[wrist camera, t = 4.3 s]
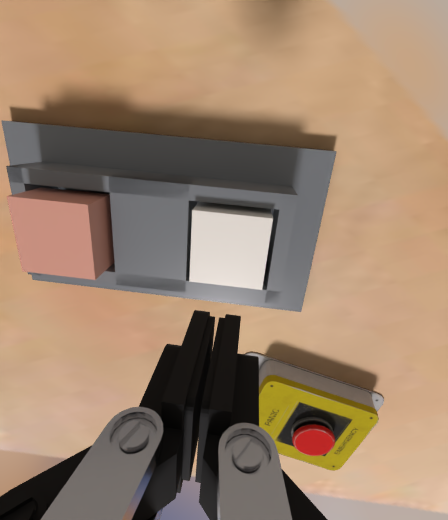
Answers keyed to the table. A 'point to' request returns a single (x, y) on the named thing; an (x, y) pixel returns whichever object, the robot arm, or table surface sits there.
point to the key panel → (179, 202)
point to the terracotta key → (63, 232)
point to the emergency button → (313, 413)
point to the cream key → (229, 244)
